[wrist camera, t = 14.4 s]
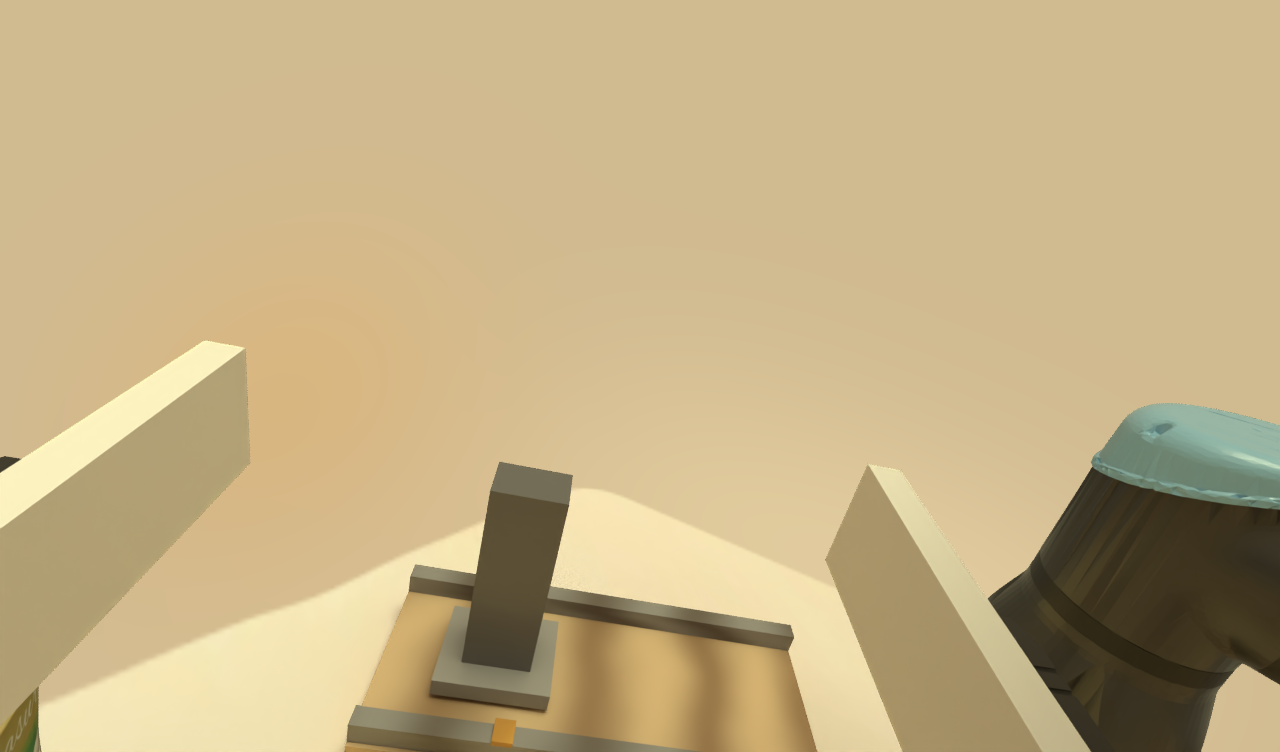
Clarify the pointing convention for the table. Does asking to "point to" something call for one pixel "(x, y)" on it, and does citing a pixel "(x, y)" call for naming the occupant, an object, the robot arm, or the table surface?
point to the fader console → (592, 682)
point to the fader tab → (509, 596)
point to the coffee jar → (22, 728)
